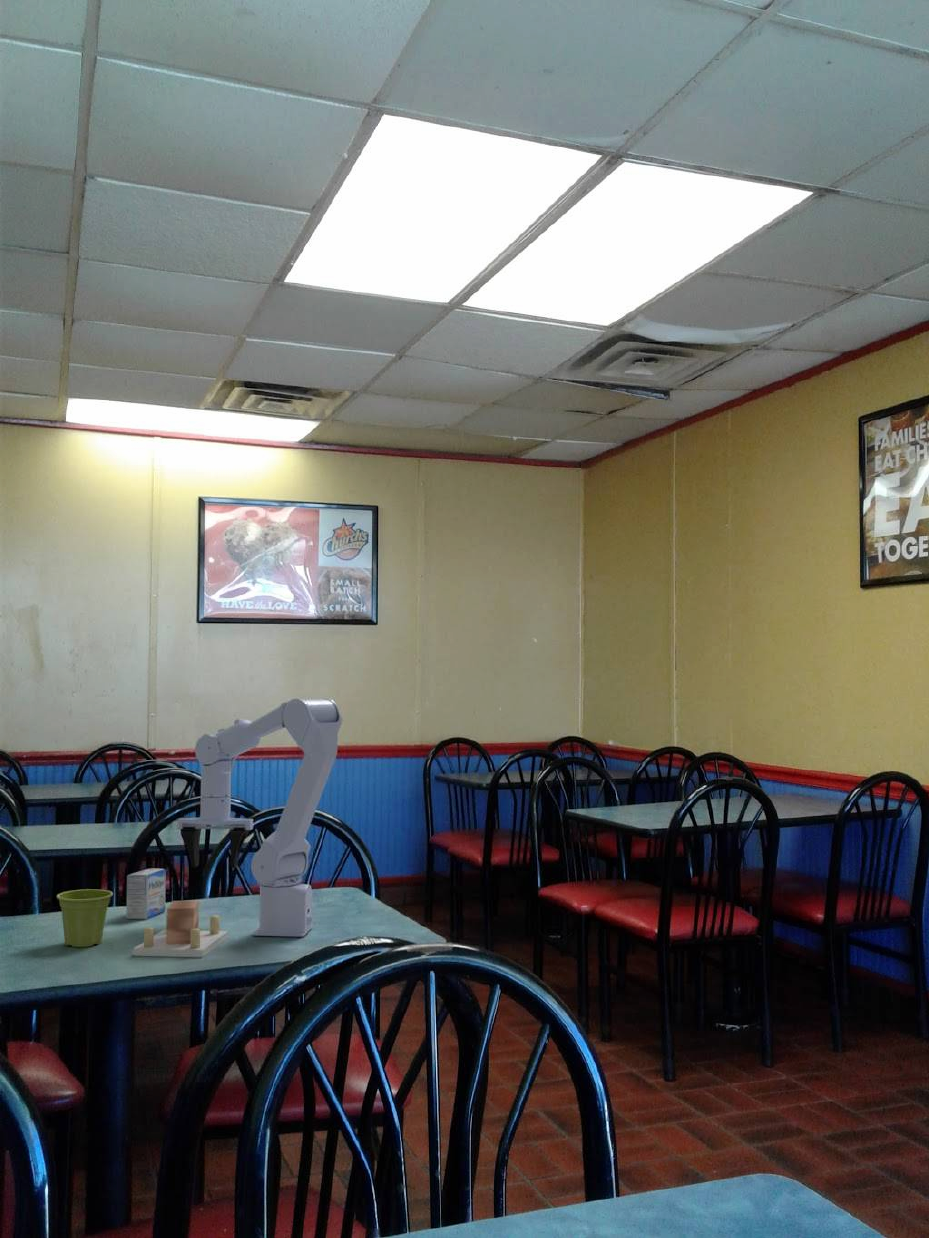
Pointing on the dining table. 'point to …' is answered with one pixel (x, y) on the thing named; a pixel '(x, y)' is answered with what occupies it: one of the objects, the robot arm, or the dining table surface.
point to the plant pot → (84, 916)
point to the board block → (181, 921)
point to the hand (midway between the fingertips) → (214, 866)
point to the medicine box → (146, 893)
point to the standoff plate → (197, 948)
